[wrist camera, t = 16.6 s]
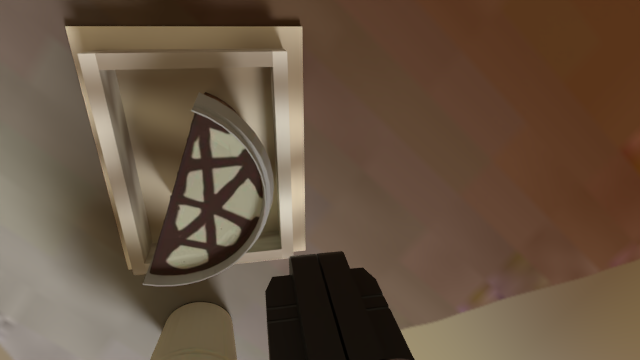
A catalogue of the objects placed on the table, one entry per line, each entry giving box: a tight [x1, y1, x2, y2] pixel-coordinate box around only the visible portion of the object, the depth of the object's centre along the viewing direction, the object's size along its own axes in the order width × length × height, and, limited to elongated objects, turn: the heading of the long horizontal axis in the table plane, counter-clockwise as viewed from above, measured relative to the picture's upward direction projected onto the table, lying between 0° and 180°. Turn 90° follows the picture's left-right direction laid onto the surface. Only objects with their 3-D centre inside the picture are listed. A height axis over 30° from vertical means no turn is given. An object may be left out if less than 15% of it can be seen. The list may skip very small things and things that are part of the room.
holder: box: [65, 26, 305, 275], centre depth 28 cm, size 20×16×4 cm
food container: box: [143, 92, 274, 286], centre depth 25 cm, size 12×6×10 cm, turn 157°
